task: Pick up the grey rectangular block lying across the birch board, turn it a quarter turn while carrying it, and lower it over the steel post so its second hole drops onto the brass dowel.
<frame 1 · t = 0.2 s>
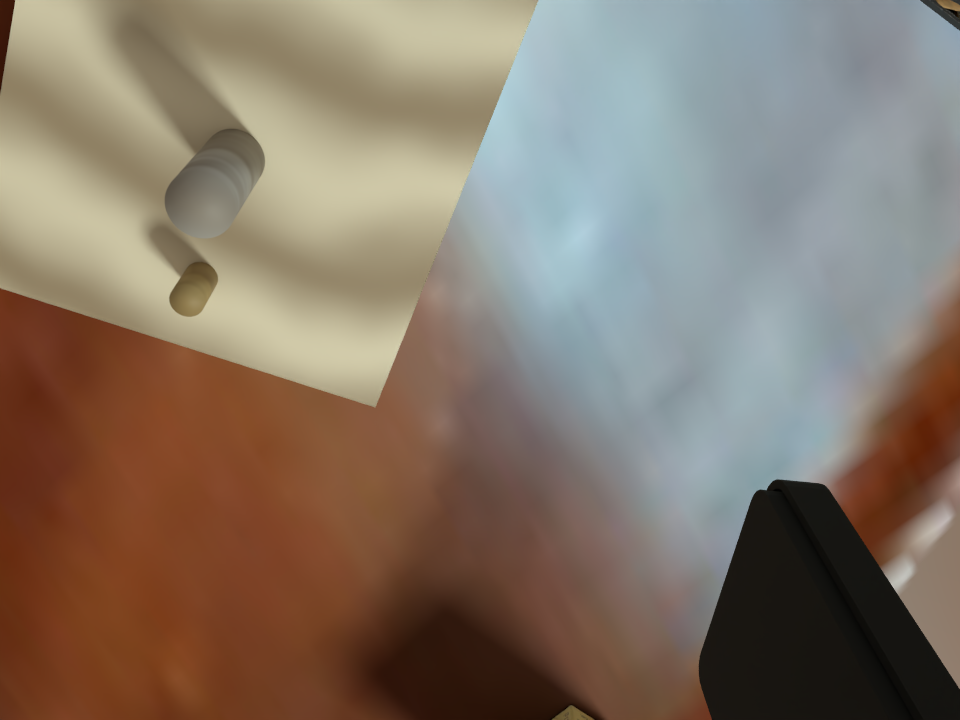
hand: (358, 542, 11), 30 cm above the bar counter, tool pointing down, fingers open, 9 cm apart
board: (277, 29, 37), on the bar counter
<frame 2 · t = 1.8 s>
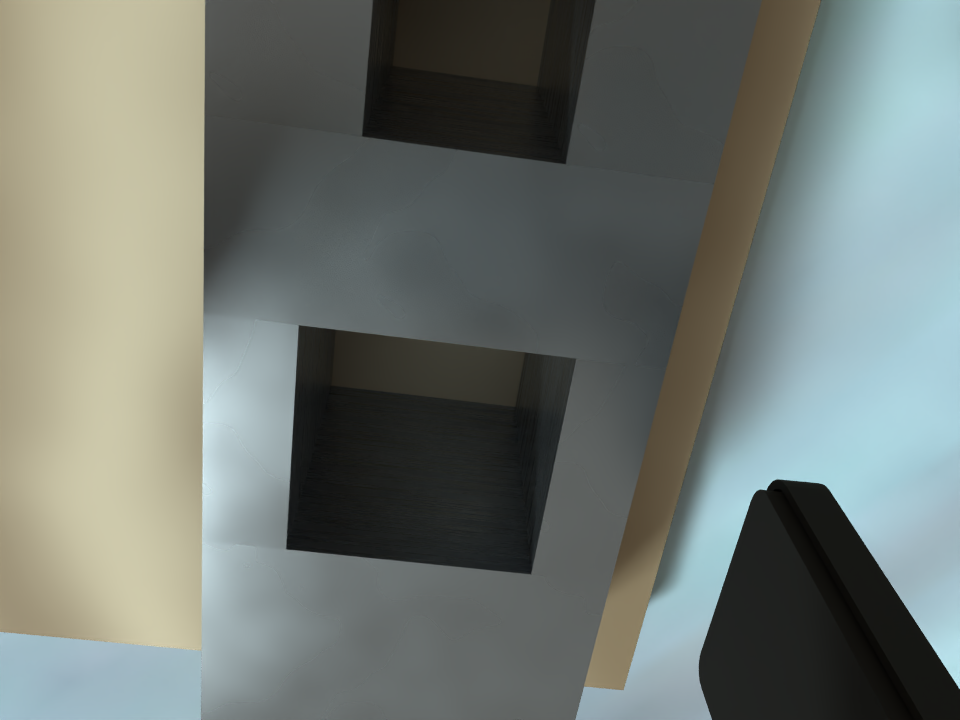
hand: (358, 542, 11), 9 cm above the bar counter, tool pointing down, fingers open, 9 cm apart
grey rectangular block: (434, 312, 17), point 2 cm above the bar counter, touching board
board: (12, 219, 18), on the bar counter
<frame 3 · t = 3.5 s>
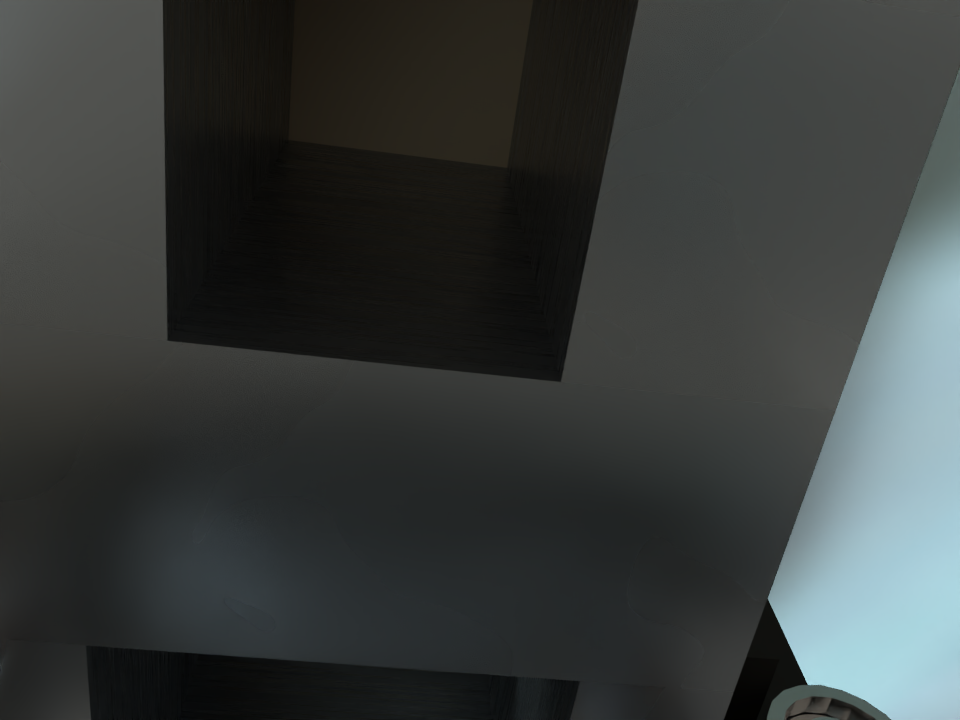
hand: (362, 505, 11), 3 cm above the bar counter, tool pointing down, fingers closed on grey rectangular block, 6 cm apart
grey rectangular block: (366, 478, 12), point 2 cm above the bar counter, touching board, gripper
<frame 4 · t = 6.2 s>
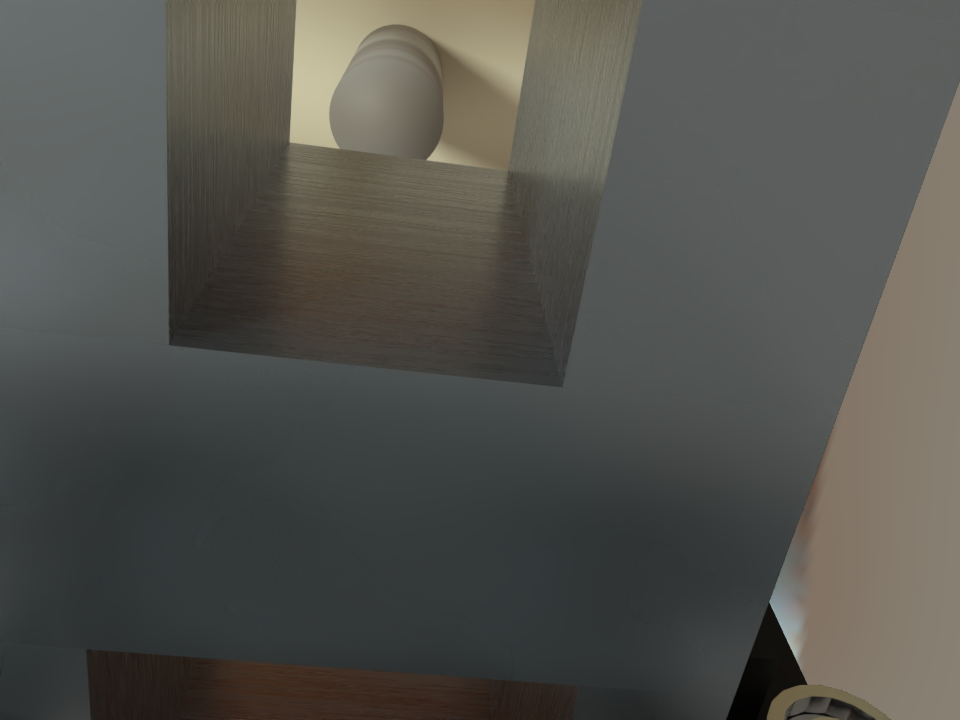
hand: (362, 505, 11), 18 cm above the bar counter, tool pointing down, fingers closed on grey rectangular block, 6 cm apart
grey rectangular block: (366, 480, 12), point 18 cm above the bar counter, touching gripper
board: (411, 226, 29), on the bar counter
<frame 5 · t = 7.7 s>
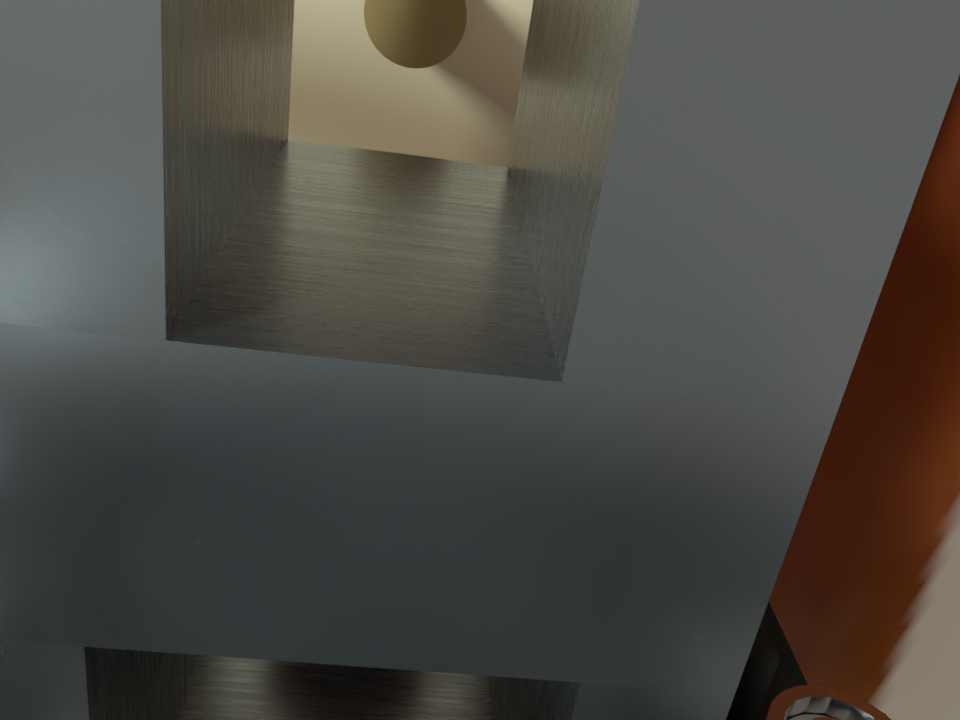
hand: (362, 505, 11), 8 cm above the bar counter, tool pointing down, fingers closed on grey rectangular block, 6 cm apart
grey rectangular block: (366, 478, 12), point 8 cm above the bar counter, touching gripper
board: (370, 472, 21), on the bar counter
when the fingers open (5 cm above the bar counter, at t = 9.2 s): grey rectangular block drops 2 cm, resting on board.
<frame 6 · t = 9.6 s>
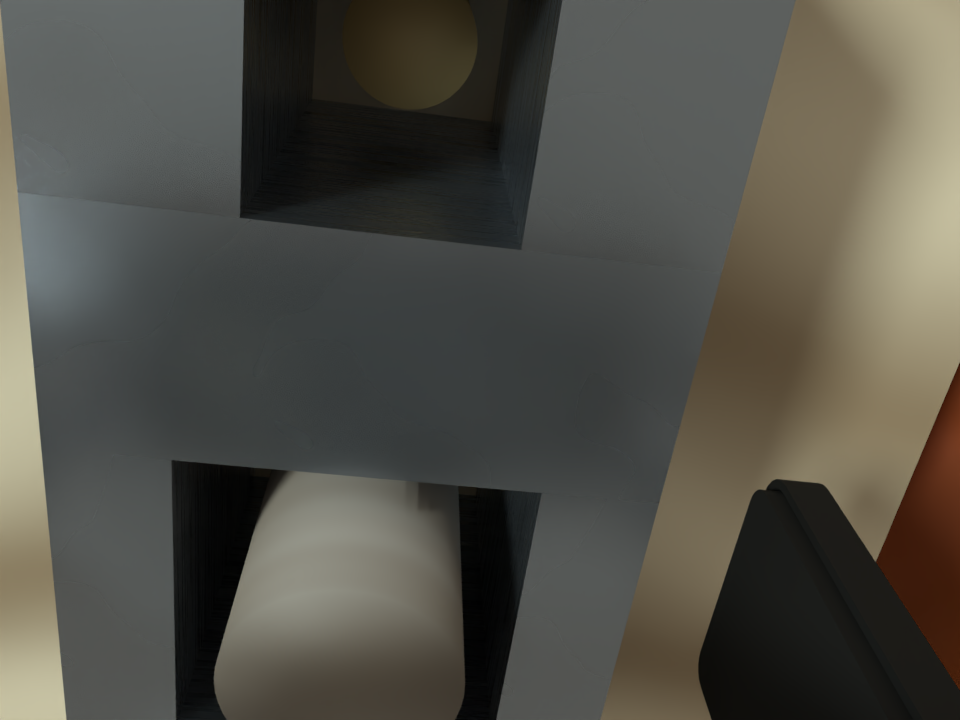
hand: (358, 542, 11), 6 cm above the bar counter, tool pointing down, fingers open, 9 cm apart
grey rectangular block: (375, 390, 14), point 2 cm above the bar counter, touching board
board: (360, 559, 18), on the bar counter
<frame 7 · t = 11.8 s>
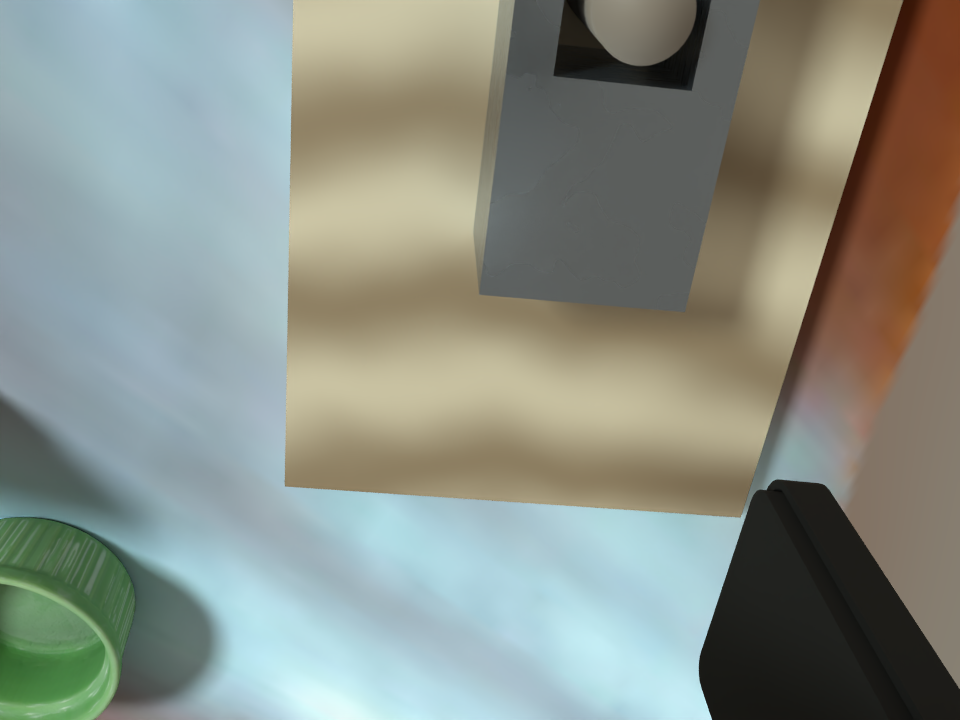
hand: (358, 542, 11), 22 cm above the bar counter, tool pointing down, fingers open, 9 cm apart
ramekin: (44, 582, 40), on the bar counter
board: (569, 133, 31), on the bar counter
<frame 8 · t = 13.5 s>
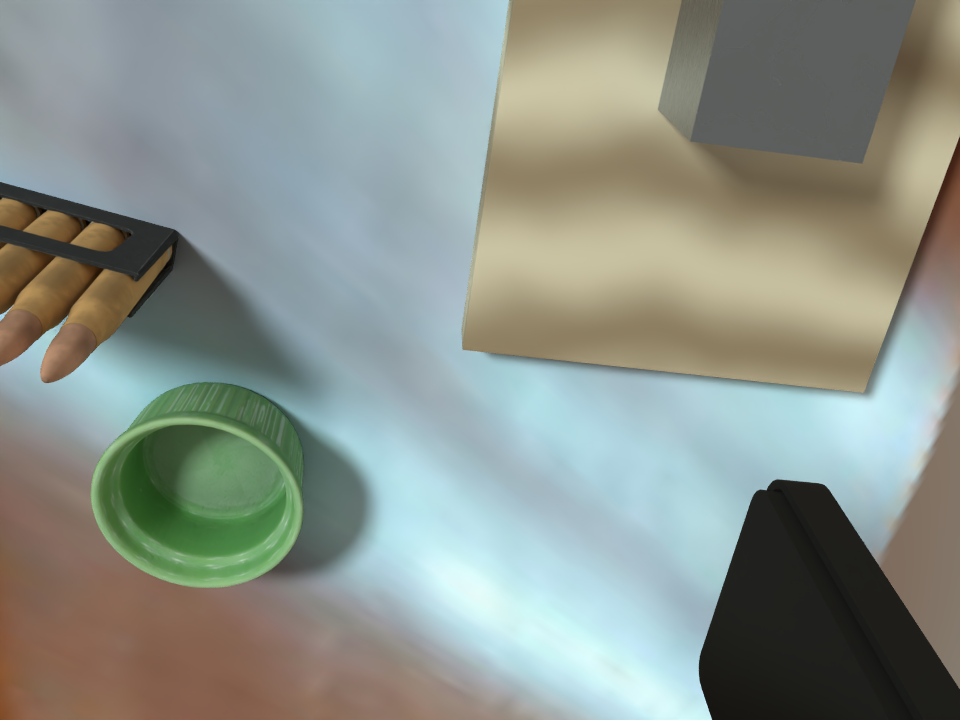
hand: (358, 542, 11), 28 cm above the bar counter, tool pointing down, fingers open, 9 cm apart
ramekin: (220, 450, 44), on the bar counter
board: (739, 29, 35), on the bar counter
ammunition clip: (47, 214, 38), on the bar counter
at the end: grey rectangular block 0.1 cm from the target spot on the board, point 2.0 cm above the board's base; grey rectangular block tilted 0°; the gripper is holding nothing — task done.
